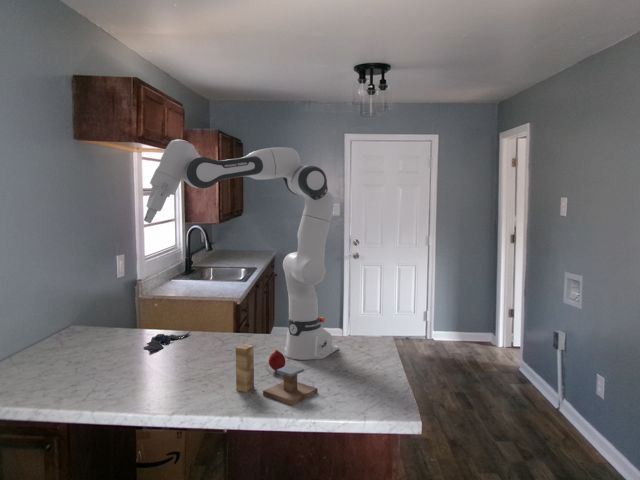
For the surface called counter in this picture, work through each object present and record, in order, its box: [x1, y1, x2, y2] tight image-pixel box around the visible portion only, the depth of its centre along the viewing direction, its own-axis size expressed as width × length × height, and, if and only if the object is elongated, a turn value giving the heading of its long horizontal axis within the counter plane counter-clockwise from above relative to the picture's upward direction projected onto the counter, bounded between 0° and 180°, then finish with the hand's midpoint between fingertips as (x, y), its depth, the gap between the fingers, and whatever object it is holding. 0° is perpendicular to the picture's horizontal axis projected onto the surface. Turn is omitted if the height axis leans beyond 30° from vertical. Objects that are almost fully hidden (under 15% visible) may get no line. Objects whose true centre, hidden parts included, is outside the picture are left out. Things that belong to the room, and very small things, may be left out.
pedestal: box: [262, 364, 319, 406], centre depth 165 cm, size 12×12×8 cm
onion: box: [268, 348, 286, 373], centre depth 184 cm, size 6×6×8 cm
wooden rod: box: [235, 343, 255, 393], centre depth 168 cm, size 4×4×14 cm
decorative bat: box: [142, 330, 192, 352], centre depth 218 cm, size 30×4×10 cm
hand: (146, 222), depth 176 cm, fingers open, 8 cm apart
